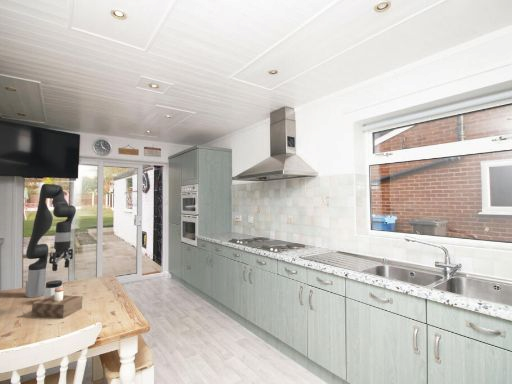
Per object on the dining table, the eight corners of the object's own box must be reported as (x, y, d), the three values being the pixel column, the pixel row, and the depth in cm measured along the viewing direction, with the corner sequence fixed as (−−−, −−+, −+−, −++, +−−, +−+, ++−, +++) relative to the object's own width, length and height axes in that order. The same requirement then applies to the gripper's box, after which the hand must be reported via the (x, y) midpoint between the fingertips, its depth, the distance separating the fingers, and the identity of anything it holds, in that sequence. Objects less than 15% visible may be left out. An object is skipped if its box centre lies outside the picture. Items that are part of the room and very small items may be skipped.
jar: (58, 303, 166) (59, 283, 167) (42, 304, 163) (43, 284, 164) (62, 298, 174) (64, 279, 175) (47, 299, 172) (49, 280, 172)
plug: (51, 313, 151) (53, 289, 152) (57, 310, 155) (58, 287, 155) (58, 313, 150) (59, 289, 151) (63, 310, 154) (65, 287, 155)
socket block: (31, 316, 146) (32, 303, 147) (52, 306, 160) (53, 294, 161) (63, 318, 145) (63, 304, 145) (81, 308, 159) (82, 296, 159)
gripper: (66, 238, 162) (64, 266, 161) (46, 241, 148) (43, 271, 147) (78, 239, 162) (76, 266, 161) (59, 242, 148) (57, 272, 147)
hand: (60, 269), depth 154 cm, fingers open, 8 cm apart
